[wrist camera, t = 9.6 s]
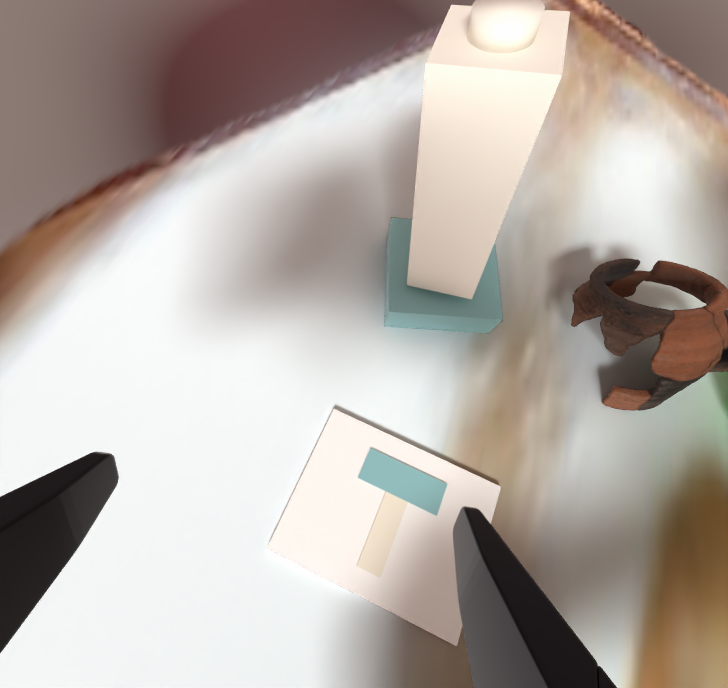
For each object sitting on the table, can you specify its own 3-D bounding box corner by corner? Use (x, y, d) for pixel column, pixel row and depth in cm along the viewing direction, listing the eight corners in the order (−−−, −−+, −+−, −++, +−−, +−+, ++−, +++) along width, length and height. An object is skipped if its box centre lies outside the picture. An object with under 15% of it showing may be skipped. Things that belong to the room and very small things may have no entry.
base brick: (485, 335, 26) (502, 319, 23) (383, 328, 26) (388, 311, 23) (478, 249, 29) (493, 225, 26) (386, 241, 28) (391, 217, 26)
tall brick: (471, 299, 22) (574, 44, 10) (406, 285, 23) (428, 34, 11) (482, 249, 24) (580, -18, 12) (421, 237, 25) (454, -24, 13)
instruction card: (499, 486, 22) (501, 486, 22) (455, 643, 19) (457, 647, 19) (333, 409, 23) (333, 408, 23) (267, 546, 20) (266, 548, 20)
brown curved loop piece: (560, 413, 24) (600, 324, 19) (539, 331, 31) (564, 248, 26) (766, 433, 22) (882, 336, 16) (694, 338, 28) (758, 247, 23)
